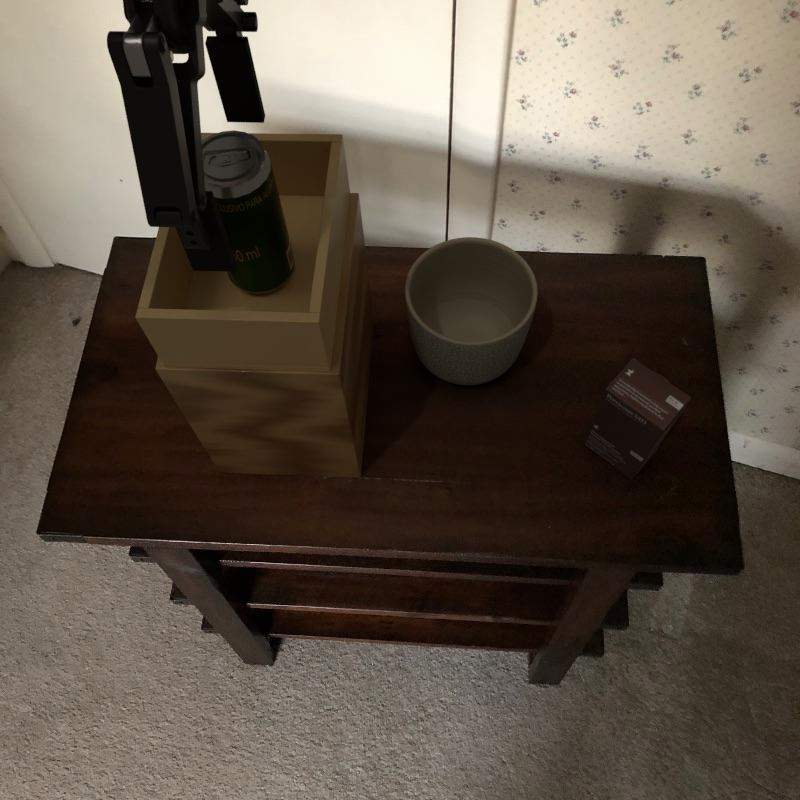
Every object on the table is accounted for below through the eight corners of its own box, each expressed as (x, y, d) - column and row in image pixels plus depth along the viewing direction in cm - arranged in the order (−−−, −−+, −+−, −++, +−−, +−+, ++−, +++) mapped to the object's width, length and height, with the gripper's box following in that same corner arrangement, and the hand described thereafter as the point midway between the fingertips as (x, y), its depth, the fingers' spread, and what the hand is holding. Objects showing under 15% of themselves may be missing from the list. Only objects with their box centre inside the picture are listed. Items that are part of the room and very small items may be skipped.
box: (579, 446, 75) (603, 387, 65) (606, 416, 77) (635, 353, 66) (630, 485, 73) (664, 430, 62) (657, 453, 75) (695, 394, 64)
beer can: (289, 238, 62) (261, 121, 52) (301, 289, 60) (274, 178, 49) (224, 252, 62) (182, 137, 51) (233, 304, 59) (191, 195, 49)
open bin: (164, 367, 58) (134, 317, 52) (205, 191, 66) (183, 131, 60) (330, 372, 57) (318, 322, 51) (350, 194, 65) (342, 133, 59)
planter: (519, 408, 77) (532, 351, 68) (399, 393, 79) (395, 336, 69) (529, 308, 83) (542, 243, 74) (416, 296, 84) (415, 230, 75)
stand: (219, 472, 75) (154, 369, 58) (246, 320, 84) (197, 189, 66) (360, 478, 74) (339, 374, 57) (373, 324, 83) (358, 192, 65)
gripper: (151, 29, 28) (259, 342, 47) (251, -282, 40) (305, 67, 59) (-47, 26, 28) (139, 338, 47) (110, -281, 40) (209, 66, 59)
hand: (231, 188), depth 53 cm, fingers open, 13 cm apart
